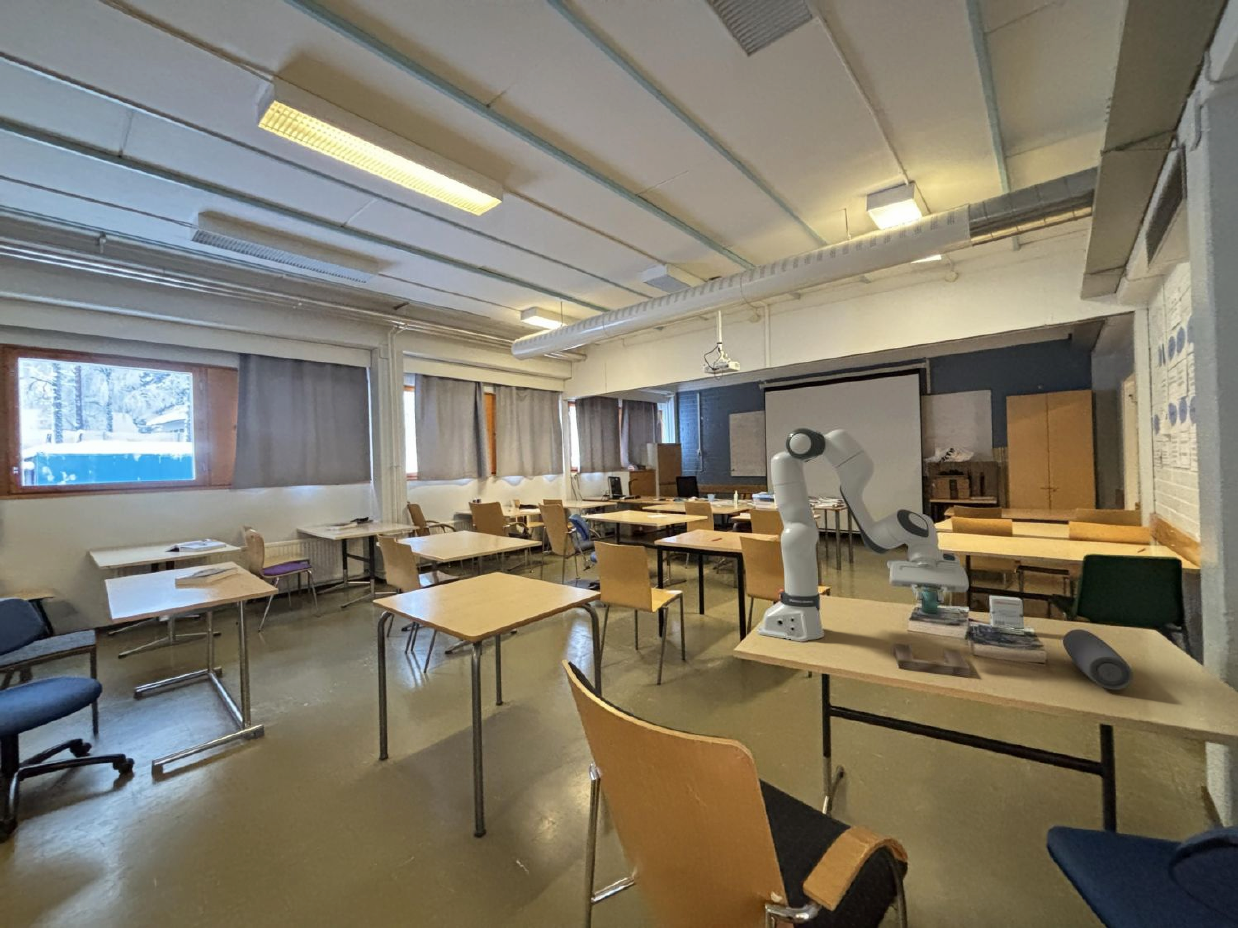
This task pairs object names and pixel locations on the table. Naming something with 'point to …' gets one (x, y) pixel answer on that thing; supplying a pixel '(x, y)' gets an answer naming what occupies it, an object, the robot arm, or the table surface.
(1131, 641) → the table surface
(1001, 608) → the ink box
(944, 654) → the notched board
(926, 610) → the bobbin
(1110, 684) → the bluetooth speaker
